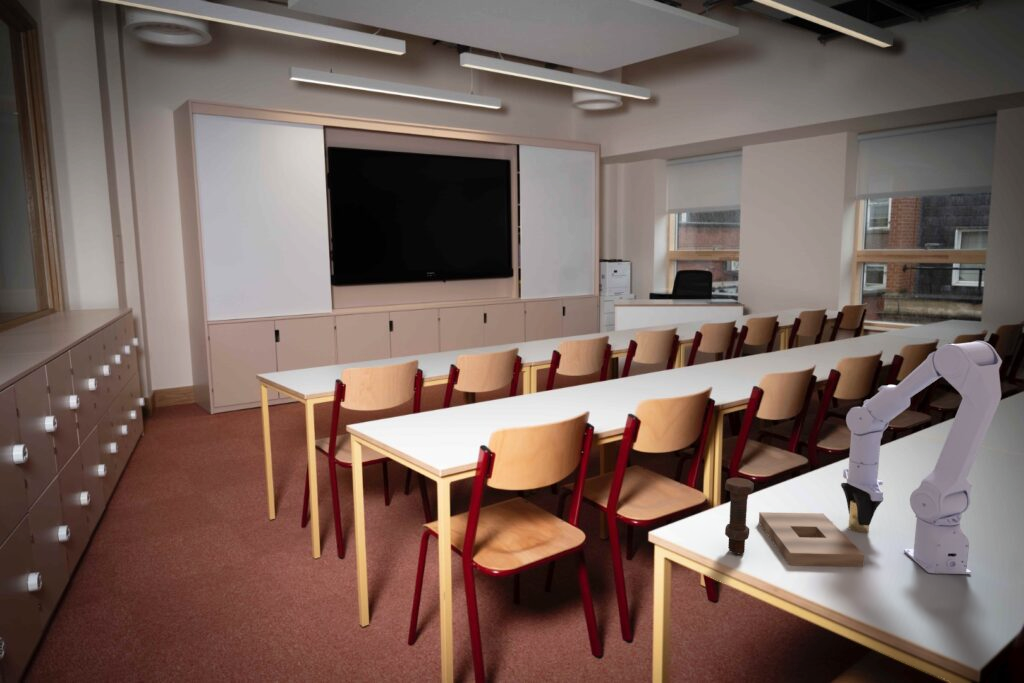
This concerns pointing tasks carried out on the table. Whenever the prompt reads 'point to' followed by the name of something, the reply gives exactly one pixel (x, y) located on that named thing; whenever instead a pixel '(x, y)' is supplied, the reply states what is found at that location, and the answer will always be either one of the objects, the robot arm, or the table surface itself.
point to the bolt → (738, 513)
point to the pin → (855, 519)
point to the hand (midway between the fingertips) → (859, 520)
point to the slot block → (810, 539)
